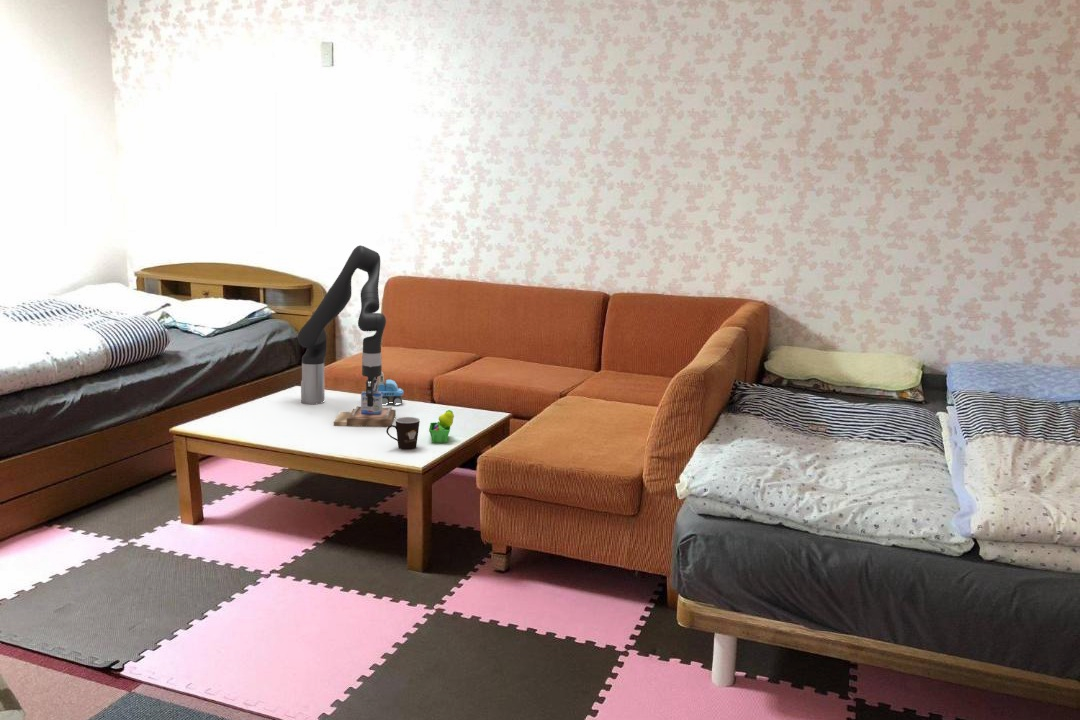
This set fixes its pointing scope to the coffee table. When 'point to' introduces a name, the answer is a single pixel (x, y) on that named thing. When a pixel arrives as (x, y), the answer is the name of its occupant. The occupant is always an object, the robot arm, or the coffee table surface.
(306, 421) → the coffee table surface
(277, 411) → the coffee table surface
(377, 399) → the medicine box
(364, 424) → the tan shallow tray
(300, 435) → the coffee table surface
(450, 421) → the fruit basket
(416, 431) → the coffee mug
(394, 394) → the toy excavator
